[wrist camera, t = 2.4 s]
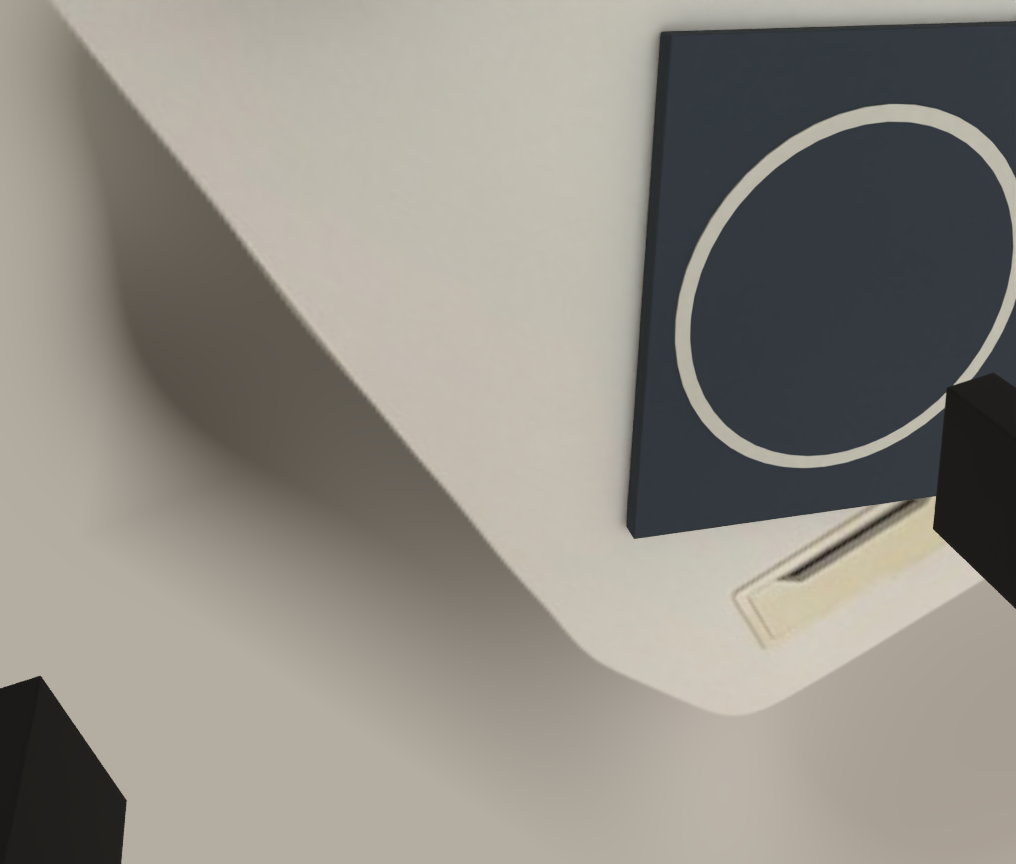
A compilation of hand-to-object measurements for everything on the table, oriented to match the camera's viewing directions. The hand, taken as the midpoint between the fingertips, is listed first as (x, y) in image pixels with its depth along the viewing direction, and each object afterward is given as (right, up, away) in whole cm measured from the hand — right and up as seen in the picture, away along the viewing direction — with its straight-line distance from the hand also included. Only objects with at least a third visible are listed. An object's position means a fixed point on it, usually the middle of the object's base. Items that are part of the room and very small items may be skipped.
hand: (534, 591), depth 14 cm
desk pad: (+16, +8, +25) cm, 31 cm away
